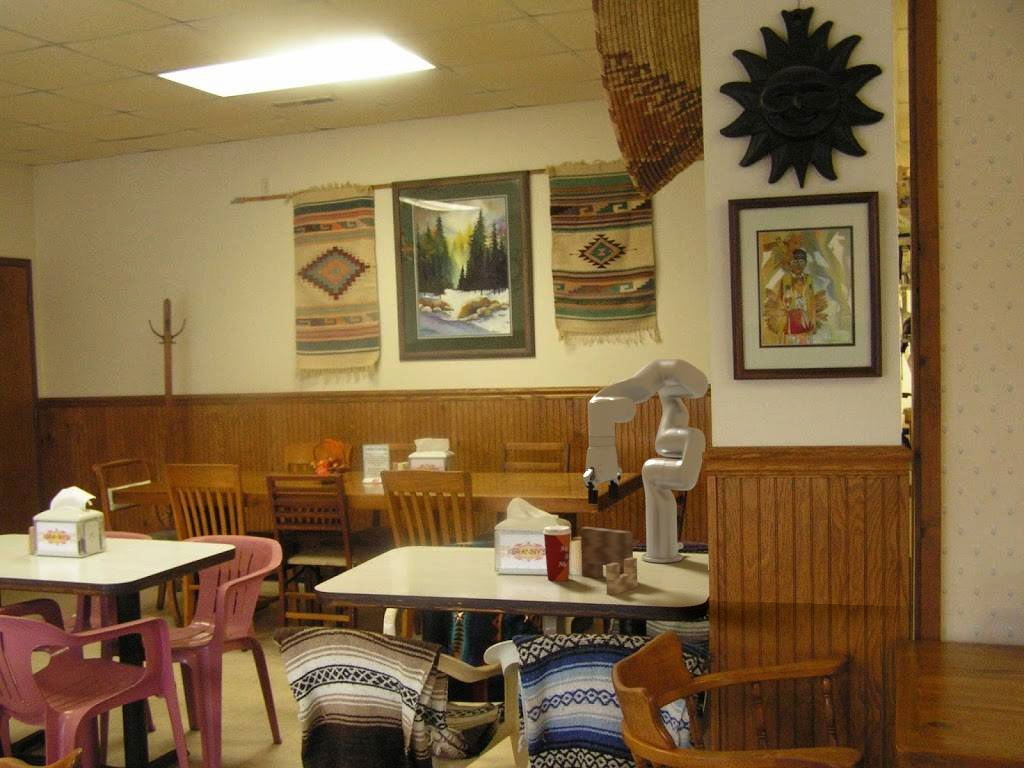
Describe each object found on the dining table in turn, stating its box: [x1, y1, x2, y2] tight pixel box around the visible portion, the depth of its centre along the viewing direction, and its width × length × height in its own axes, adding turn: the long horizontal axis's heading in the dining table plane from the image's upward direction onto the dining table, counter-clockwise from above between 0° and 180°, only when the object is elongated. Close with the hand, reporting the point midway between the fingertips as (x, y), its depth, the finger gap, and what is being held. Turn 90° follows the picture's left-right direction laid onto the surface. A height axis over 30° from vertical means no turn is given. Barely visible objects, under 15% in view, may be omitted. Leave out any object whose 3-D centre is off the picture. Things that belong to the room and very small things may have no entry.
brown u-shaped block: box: [605, 556, 638, 596], centre depth 289 cm, size 12×2×8 cm, turn 140°
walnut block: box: [580, 526, 634, 579], centre depth 305 cm, size 16×3×14 cm, turn 50°
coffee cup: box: [542, 525, 572, 582], centre depth 305 cm, size 8×8×15 cm
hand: (603, 501), depth 303 cm, fingers open, 9 cm apart
